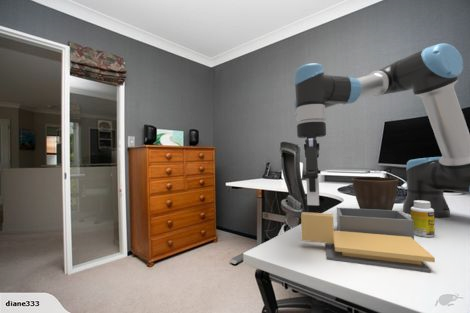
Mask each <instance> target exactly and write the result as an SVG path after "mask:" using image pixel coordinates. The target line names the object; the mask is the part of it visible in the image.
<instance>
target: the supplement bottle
mask: <svg viewBox="0 0 470 313" xmlns="http://www.w3.org/2000/svg"><path fill="white" fill-rule="evenodd" d="M430 207H431V205H430V202H429V201H421V200H415V201H414V206H413V207H411V214H410V219H412V220H413V221H414V236H419V237H423V238H433V237H434V236H435V234H436V232H435V227H436V226H435V217H434V210H433V209H432V208H430Z"/></svg>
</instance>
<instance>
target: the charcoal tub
mask: <svg viewBox="0 0 470 313" xmlns="http://www.w3.org/2000/svg"><path fill="white" fill-rule="evenodd" d="M336 222H337V223H336V224H337V225H336V227H337V231H345V232H357V233H369V234H381V235H393V236H405V237H411V238H413V239H414V240H415V234H414V221H413V220H412V219H411V217H409V216H408V215H406V214H404V212H401V211H400V210H393V209H392V210H376V209H360V208H352V207H351V208H350V207H336Z"/></svg>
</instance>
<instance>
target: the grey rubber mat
mask: <svg viewBox="0 0 470 313" xmlns="http://www.w3.org/2000/svg"><path fill="white" fill-rule="evenodd" d="M325 249H326V259H327V260H329V261H330V260H331V261H336V262H345V263H352V264H360V265H368V266H376V267H384V268H385V267H386V268H393V269H399V270H405V271H407V270H409V271H416V272H423V273H429V274H430V273H432V270H431V269H430V267H428V266H427V264H426V263H425V262H424V261H421V265H419V264H410V263H402V262H393V261H385V260H376V259H368V258H359V257H351V256H343V255H342V252H338V251H335V247H334V244H332V243H325Z"/></svg>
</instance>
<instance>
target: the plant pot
mask: <svg viewBox="0 0 470 313" xmlns="http://www.w3.org/2000/svg"><path fill="white" fill-rule="evenodd" d="M351 181H352V185H353V186H352V187H353V191H354V195H355V198H356V202H357V206H358V207H359V208H358V209H376V210H393V208H394V206H395V203H396V198H397V193H398V186H399V179H398V178H394V177H379V176H378V177H377V176H364V177H363V176H362V177H360V176H358V177H352V178H351Z"/></svg>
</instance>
